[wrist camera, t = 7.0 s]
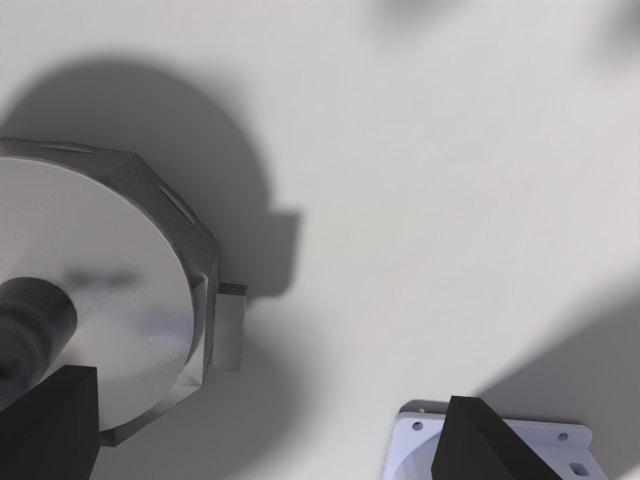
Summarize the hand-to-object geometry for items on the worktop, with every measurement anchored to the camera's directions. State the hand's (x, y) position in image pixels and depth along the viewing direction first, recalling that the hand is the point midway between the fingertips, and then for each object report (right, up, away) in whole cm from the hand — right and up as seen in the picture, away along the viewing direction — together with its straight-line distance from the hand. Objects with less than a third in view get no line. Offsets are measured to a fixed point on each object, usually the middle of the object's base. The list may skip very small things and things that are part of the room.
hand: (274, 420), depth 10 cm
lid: (-9, +2, +8) cm, 12 cm away
